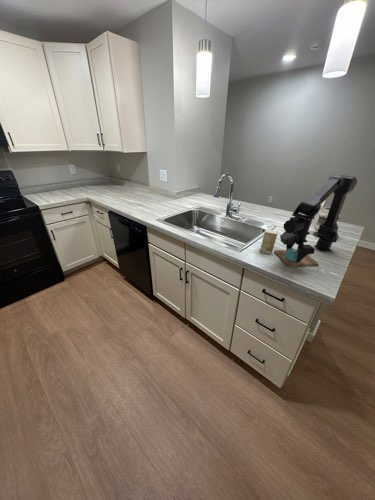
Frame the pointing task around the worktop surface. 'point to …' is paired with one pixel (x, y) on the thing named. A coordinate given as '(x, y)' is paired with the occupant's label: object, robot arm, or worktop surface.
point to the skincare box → (268, 241)
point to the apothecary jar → (322, 219)
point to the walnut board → (304, 262)
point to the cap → (292, 254)
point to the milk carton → (317, 215)
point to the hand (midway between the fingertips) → (292, 257)
